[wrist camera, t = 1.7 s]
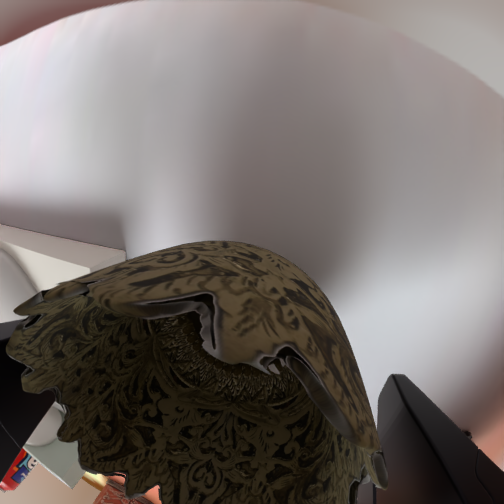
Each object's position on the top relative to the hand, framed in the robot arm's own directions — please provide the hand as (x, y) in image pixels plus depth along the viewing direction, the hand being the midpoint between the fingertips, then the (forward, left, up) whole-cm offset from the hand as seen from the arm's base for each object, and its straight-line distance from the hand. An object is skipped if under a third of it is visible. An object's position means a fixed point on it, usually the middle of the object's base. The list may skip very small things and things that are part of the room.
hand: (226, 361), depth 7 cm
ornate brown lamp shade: (0, 0, -4) cm, 4 cm away
